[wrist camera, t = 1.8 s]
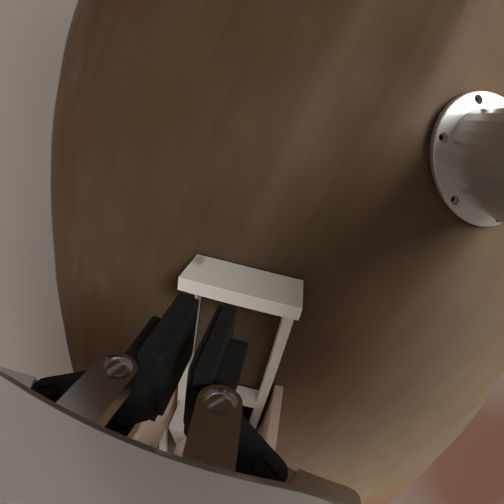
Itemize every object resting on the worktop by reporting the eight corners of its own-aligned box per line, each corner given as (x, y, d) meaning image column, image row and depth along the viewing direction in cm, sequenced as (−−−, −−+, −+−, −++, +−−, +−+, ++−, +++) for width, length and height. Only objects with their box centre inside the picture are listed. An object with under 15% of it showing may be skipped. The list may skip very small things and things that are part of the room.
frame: (270, 441, 40) (270, 447, 39) (252, 478, 45) (251, 482, 44) (160, 411, 41) (158, 416, 40) (161, 453, 46) (159, 457, 45)
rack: (303, 280, 30) (302, 308, 25) (249, 438, 40) (243, 466, 35) (197, 254, 30) (178, 276, 26) (179, 419, 40) (168, 445, 36)
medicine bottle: (246, 425, 39) (229, 498, 28) (197, 420, 40) (171, 488, 29) (239, 390, 37) (217, 470, 26) (185, 386, 38) (152, 459, 27)
